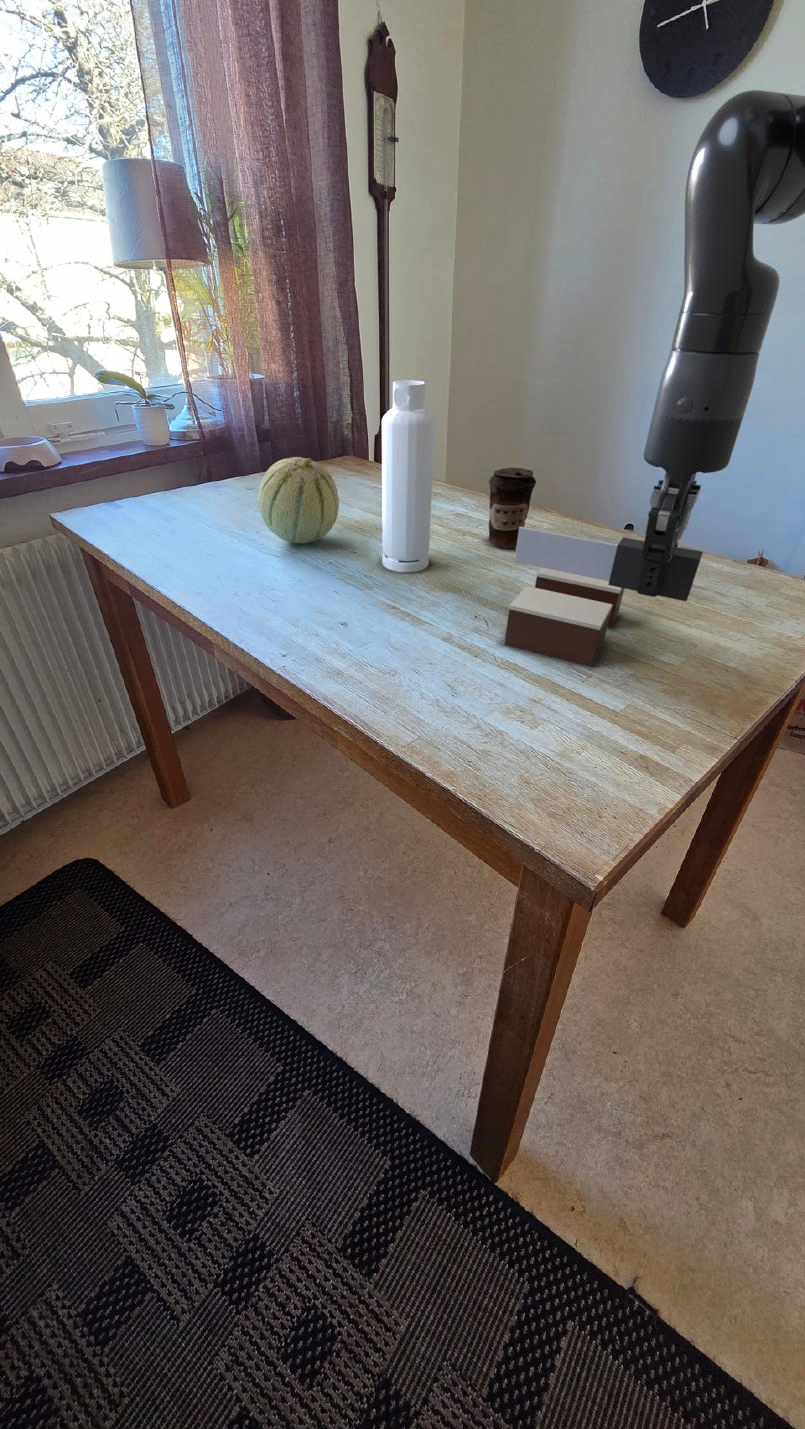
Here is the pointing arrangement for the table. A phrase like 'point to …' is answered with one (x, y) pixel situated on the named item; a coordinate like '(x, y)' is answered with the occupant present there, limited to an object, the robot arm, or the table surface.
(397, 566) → the bottle
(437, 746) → the table surface
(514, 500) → the coffee cup
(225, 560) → the table surface
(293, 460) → the cantaloupe
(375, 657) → the table surface
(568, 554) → the knife
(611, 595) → the cake slice
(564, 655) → the cake
